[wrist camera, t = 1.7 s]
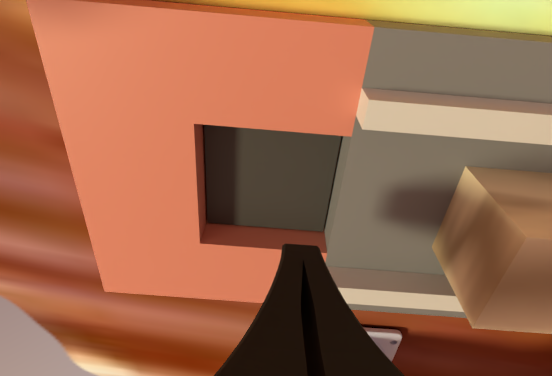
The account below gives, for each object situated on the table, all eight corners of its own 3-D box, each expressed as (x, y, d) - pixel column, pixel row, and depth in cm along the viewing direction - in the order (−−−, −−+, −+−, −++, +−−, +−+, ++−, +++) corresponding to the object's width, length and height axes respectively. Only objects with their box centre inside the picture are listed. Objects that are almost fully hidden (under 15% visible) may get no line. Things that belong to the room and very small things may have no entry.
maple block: (523, 254, 19) (588, 336, 15) (431, 247, 19) (472, 327, 15) (571, 174, 17) (668, 248, 12) (465, 166, 16) (526, 237, 12)
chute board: (737, 313, 24) (799, 362, 21) (117, 267, 23) (93, 311, 21) (1020, 77, 16) (1190, 105, 13) (54, -8, 15) (-3, 0, 12)
